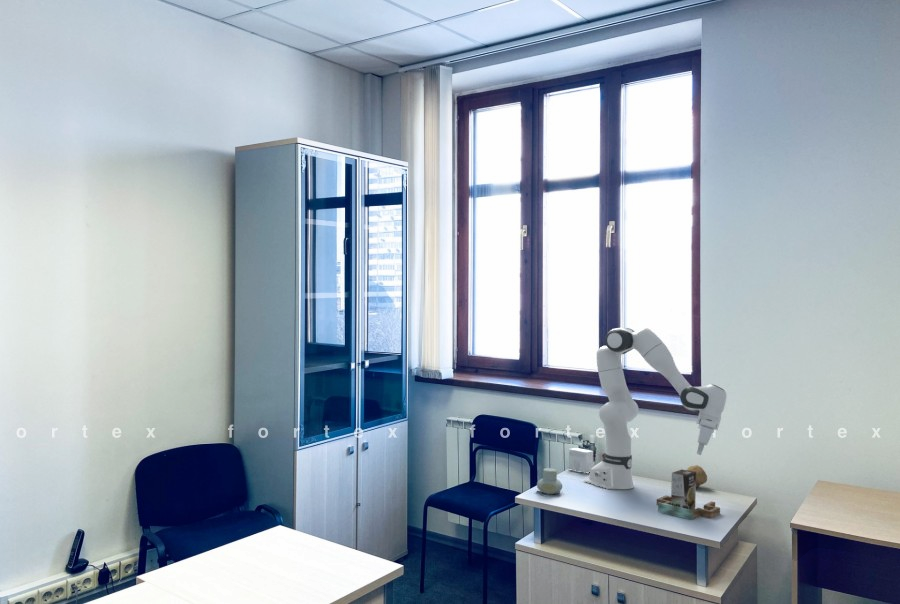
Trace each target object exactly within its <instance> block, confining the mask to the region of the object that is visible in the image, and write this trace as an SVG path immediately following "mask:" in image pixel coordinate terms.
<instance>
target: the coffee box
mask: <svg viewBox="0 0 900 604" xmlns="http://www.w3.org/2000/svg"><path fill="white" fill-rule="evenodd" d="M670 488H671V490H670V491H671V493H670V496H671V505H673V506H677V507H682V508H686V509H690V510H695V509H696V491H697V490H696V489H697V487H696V472H694V471H688V470H687V469H679V470H676V471H674V472H671V487H670Z"/></svg>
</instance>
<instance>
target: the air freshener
mask: <svg viewBox="0 0 900 604" xmlns="http://www.w3.org/2000/svg"><path fill="white" fill-rule="evenodd" d="M542 469H543V470H542V478H540V479H539V480H538V481H537V482H536V487H537V489H538V491H540V492H541V493H543V494H545V493H546V495H556V494H558V493H560V491H562V489H563V483H562V482H561V481H560V480H559V479H558V475H557V472H558V470H557V469H556V468H551V467H545V468H542Z"/></svg>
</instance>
